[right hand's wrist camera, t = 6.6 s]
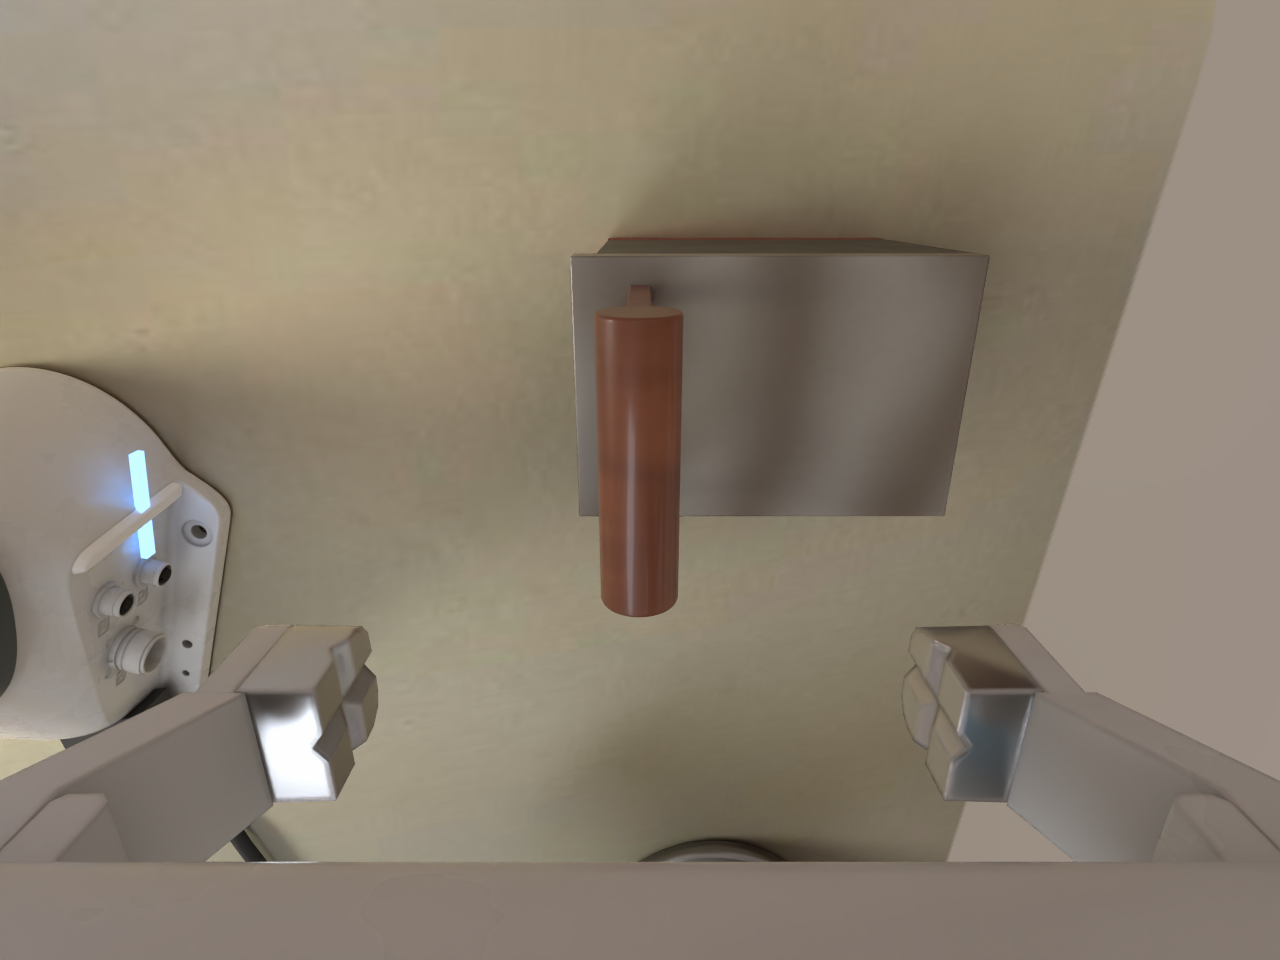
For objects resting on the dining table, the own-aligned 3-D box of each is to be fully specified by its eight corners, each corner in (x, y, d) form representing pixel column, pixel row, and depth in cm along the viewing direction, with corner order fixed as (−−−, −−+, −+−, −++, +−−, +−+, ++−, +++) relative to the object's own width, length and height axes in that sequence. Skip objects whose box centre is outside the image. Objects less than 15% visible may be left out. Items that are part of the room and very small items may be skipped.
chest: (612, 423, 38) (601, 503, 28) (608, 238, 35) (595, 252, 25) (855, 423, 38) (932, 503, 28) (876, 238, 35) (973, 252, 25)
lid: (581, 503, 28) (554, 643, 19) (573, 253, 25) (533, 282, 16) (932, 503, 28) (1067, 643, 19) (974, 252, 25) (1163, 281, 16)
